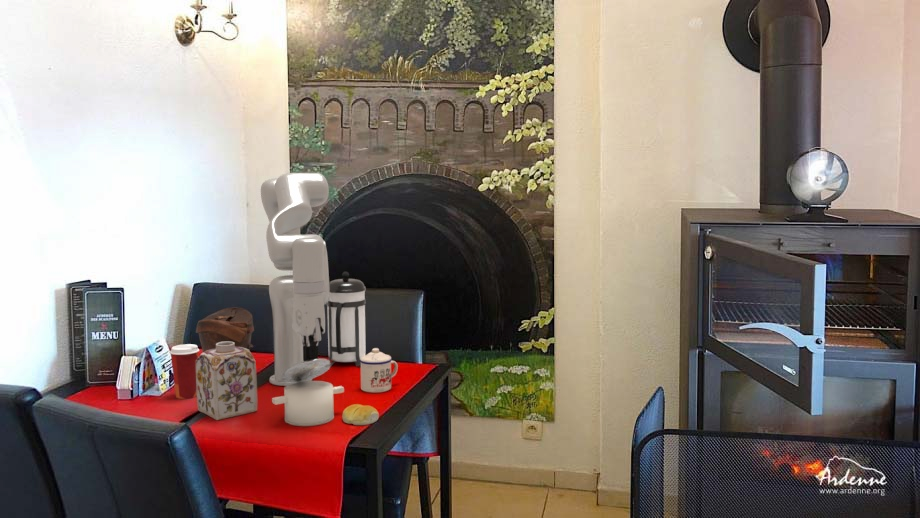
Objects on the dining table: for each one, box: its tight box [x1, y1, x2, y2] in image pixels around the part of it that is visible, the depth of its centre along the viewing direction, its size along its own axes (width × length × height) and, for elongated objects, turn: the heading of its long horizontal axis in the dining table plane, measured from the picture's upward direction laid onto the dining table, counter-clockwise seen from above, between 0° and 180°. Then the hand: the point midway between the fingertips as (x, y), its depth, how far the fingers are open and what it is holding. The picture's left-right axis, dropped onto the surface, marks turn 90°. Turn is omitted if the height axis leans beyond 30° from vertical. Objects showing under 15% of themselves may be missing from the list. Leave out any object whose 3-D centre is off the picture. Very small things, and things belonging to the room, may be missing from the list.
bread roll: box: [341, 403, 380, 426], centre depth 189 cm, size 8×9×4 cm
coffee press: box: [326, 271, 367, 368], centre depth 244 cm, size 17×16×30 cm
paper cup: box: [169, 343, 200, 400], centre depth 209 cm, size 8×8×14 cm
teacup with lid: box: [360, 347, 399, 394], centre depth 217 cm, size 12×9×12 cm
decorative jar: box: [196, 341, 258, 421], centre depth 195 cm, size 12×12×18 cm
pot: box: [271, 380, 345, 427], centre depth 190 cm, size 12×18×8 cm, turn 125°
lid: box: [281, 358, 332, 383], centre depth 190 cm, size 12×12×2 cm
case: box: [195, 306, 255, 353], centre depth 242 cm, size 18×20×18 cm
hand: (310, 361), depth 187 cm, fingers closed
